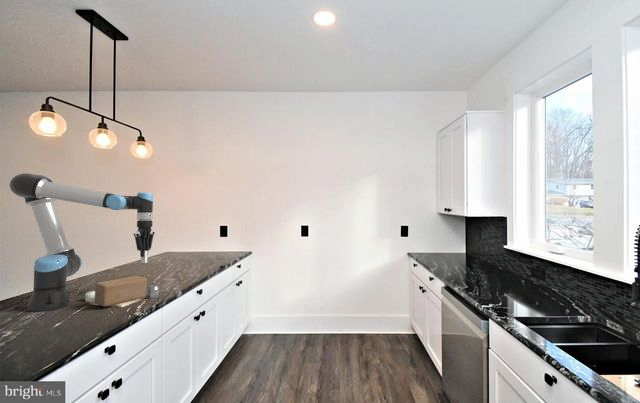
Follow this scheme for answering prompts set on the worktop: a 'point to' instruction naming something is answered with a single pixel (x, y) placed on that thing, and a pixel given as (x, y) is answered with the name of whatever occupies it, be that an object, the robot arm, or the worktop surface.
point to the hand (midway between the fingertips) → (143, 262)
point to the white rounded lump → (90, 296)
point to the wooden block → (120, 290)
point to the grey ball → (153, 291)
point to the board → (121, 303)
